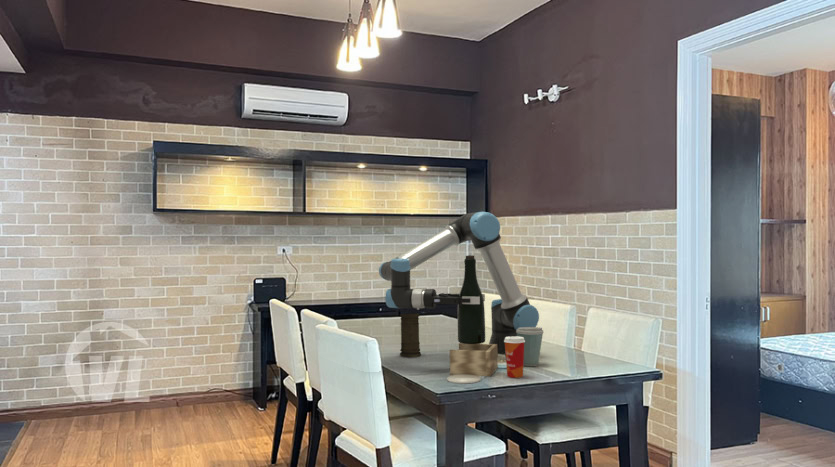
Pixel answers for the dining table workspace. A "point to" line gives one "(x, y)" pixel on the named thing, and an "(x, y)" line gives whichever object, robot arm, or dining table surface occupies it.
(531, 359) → the disposable coffee cup
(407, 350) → the container
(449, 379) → the coaster
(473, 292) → the dark green wine bottle
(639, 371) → the dining table surface
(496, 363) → the wooden box
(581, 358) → the dining table surface
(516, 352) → the paper cup
